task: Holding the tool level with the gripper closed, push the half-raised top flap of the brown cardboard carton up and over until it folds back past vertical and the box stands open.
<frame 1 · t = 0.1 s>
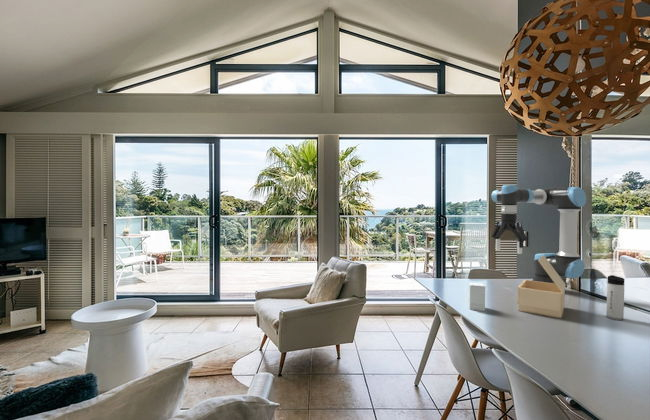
hand: (508, 252, 187), 28 cm above the table, tool pointing down, fingers open, 13 cm apart
carton: (541, 309, 177), on the table
travel mug: (614, 318, 164), on the table
carton flap: (552, 272, 174), point 19 cm above the table, hinge at 55.0°
supplement box: (476, 308, 177), on the table
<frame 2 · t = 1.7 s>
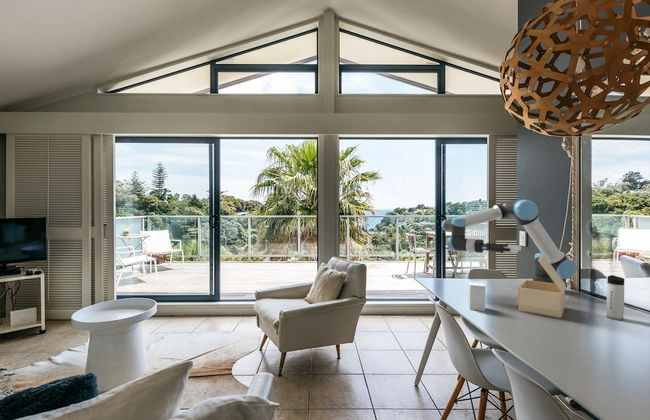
hand: (519, 249, 183), 30 cm above the table, tool horizontal, fingers open, 10 cm apart
nothing on the table moved.
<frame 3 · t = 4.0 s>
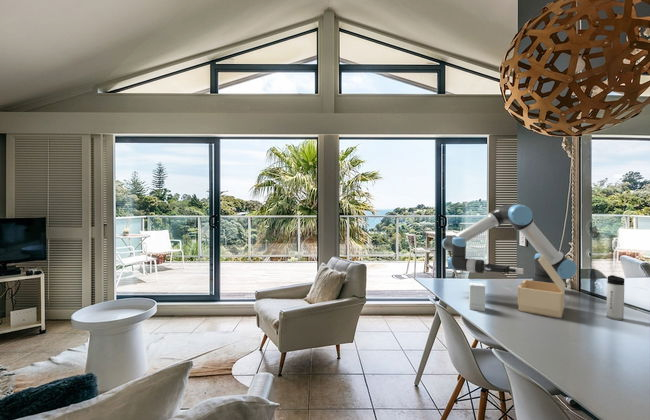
hand: (523, 271, 181), 18 cm above the table, tool horizontal, fingers closed
nothing on the table moved.
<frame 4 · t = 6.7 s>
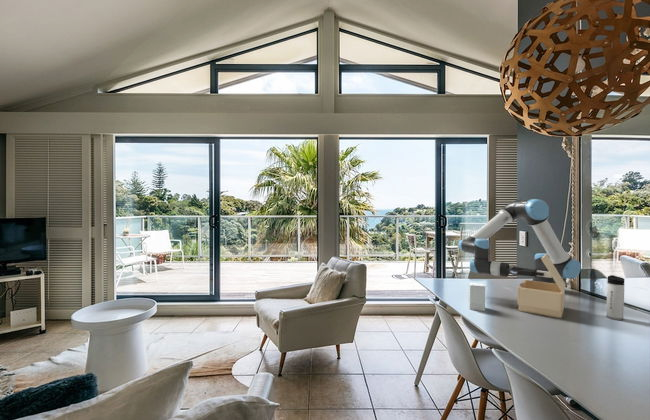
hand: (551, 275, 172), 19 cm above the table, tool horizontal, fingers closed
carton flap: (553, 272, 173), point 20 cm above the table, hinge at 60.2°, touching gripper
everything else where it was.
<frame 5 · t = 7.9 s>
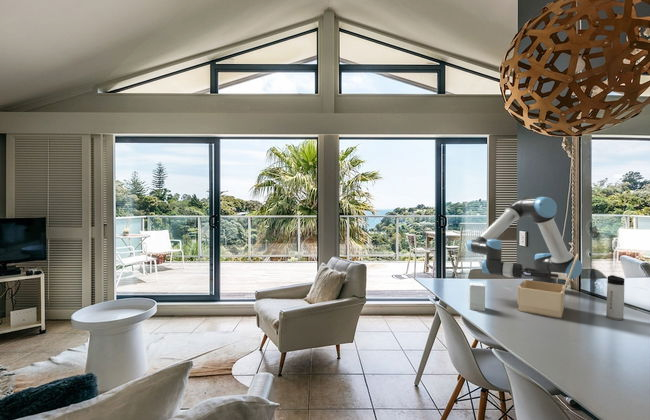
hand: (566, 276, 169), 19 cm above the table, tool horizontal, fingers closed
carton flap: (570, 272, 169), point 20 cm above the table, hinge at 105.6°, touching gripper
everything else where it was.
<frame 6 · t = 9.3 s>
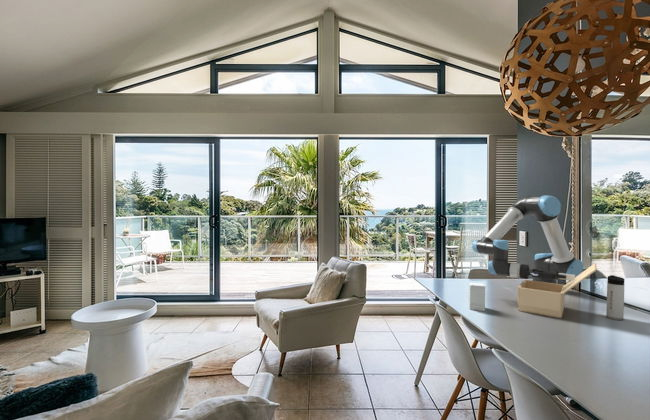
hand: (574, 277, 167), 18 cm above the table, tool horizontal, fingers closed
carton flap: (579, 278, 167), point 18 cm above the table, hinge at 133.1°, touching gripper
everything else where it was.
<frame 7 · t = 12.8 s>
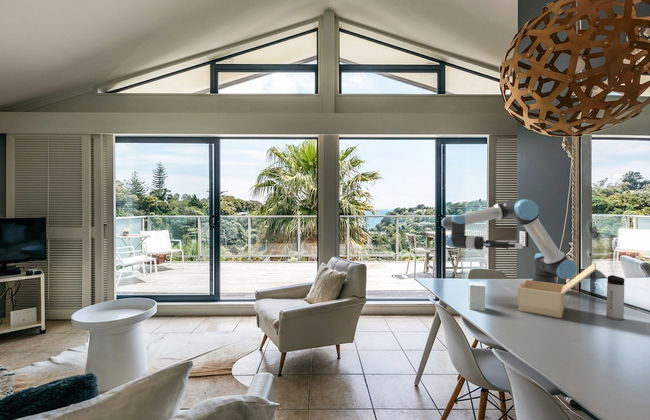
hand: (522, 246, 182), 32 cm above the table, tool horizontal, fingers closed
carton flap: (579, 277, 167), point 18 cm above the table, hinge at 132.0°
everything else where it was.
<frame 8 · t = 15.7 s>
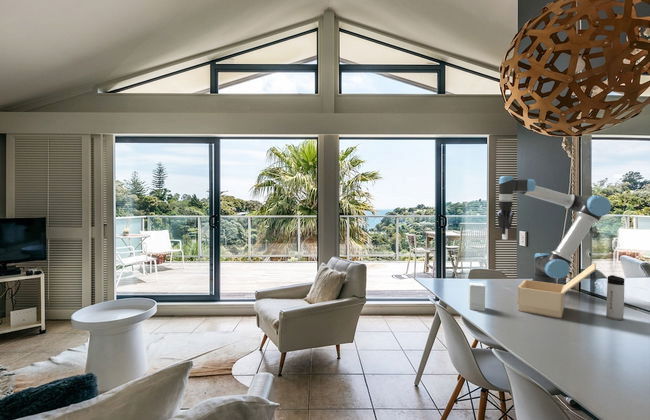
hand: (504, 239, 211), 32 cm above the table, tool pointing down, fingers closed
nothing on the table moved.
at the end: carton flap at +132° (first picture: +55°); travel mug tilted 0° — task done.
